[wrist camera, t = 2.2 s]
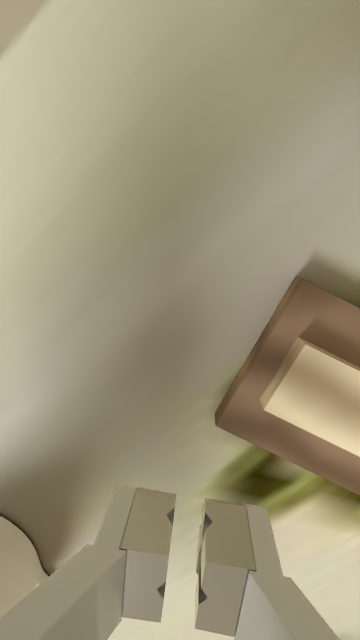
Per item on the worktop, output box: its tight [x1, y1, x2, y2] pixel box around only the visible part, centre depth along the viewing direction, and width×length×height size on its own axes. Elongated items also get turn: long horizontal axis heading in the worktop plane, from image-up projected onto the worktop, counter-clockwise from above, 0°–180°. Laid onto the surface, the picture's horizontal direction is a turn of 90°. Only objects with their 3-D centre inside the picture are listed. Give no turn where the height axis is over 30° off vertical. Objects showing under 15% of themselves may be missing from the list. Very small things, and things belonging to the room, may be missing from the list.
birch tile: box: [260, 337, 360, 457], centre depth 24 cm, size 6×10×2 cm, turn 64°
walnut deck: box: [215, 277, 360, 495], centre depth 26 cm, size 14×16×2 cm
